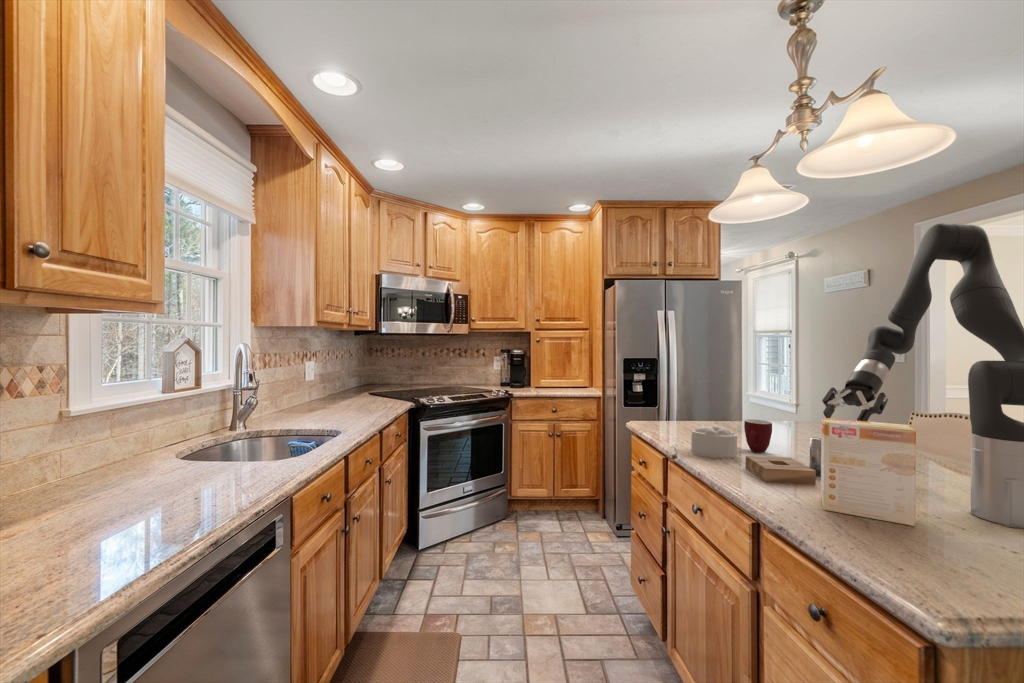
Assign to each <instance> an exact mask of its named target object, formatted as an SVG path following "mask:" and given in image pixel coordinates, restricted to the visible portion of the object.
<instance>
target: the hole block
mask: <svg viewBox="0 0 1024 683" xmlns="http://www.w3.org/2000/svg"><path fill="white" fill-rule="evenodd" d="M809 467H810V466H808V465H805V464H803V463H802V462H800V461H798V460H796V459H794V458H792V457H786V456H785V457H783V456H782V457H780V456H760V455H758V456H757V455H745V469H746V470H747V471H748V472H750V473H751V474H753V475H754V476H756V477H757V478H758V479H759V480H761V481H763V483H769V484H785V485H787V484H788V485H790V484H791V485H807V486H816V484H817V483H816V482H817V480H816V471H815V470H813V469H811V468H809Z"/></svg>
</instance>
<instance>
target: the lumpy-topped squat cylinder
mask: <svg viewBox="0 0 1024 683" xmlns="http://www.w3.org/2000/svg"><path fill="white" fill-rule="evenodd" d="M690 448H691V450H690V452H691V454H693V455H695V456H701V457H704V458H705V457H706V458H712V459H718V460H723V458H724V459H728V458H729V459H730V458H733V459H734V458H737V456H738V434H736V433H734V432H731V431H730V429H727V428H725V427H721V426H719V425H714V426H708V425H702V426H699V427H697V428H695V429H693V430H691V447H690Z"/></svg>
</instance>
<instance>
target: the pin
mask: <svg viewBox="0 0 1024 683" xmlns="http://www.w3.org/2000/svg"><path fill="white" fill-rule="evenodd" d="M808 467H809V468H811V469H813V470H815V471H816V476H819V477H821V437H818V436H815V437H814V436H811V437H809V466H808Z"/></svg>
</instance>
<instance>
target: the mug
mask: <svg viewBox="0 0 1024 683" xmlns="http://www.w3.org/2000/svg"><path fill="white" fill-rule="evenodd" d="M743 424H744V425H743V426H744V433H745V434H744V435H745V440H746V444H747V446H748V447H749V449H750V451H751V452H752V453H758V454H764V453H765V452H766V451H767V449H768V448H769V446H770V443H771V439H772V434H773V422H772V421H768V420H761V419H745V420H744V423H743Z"/></svg>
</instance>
